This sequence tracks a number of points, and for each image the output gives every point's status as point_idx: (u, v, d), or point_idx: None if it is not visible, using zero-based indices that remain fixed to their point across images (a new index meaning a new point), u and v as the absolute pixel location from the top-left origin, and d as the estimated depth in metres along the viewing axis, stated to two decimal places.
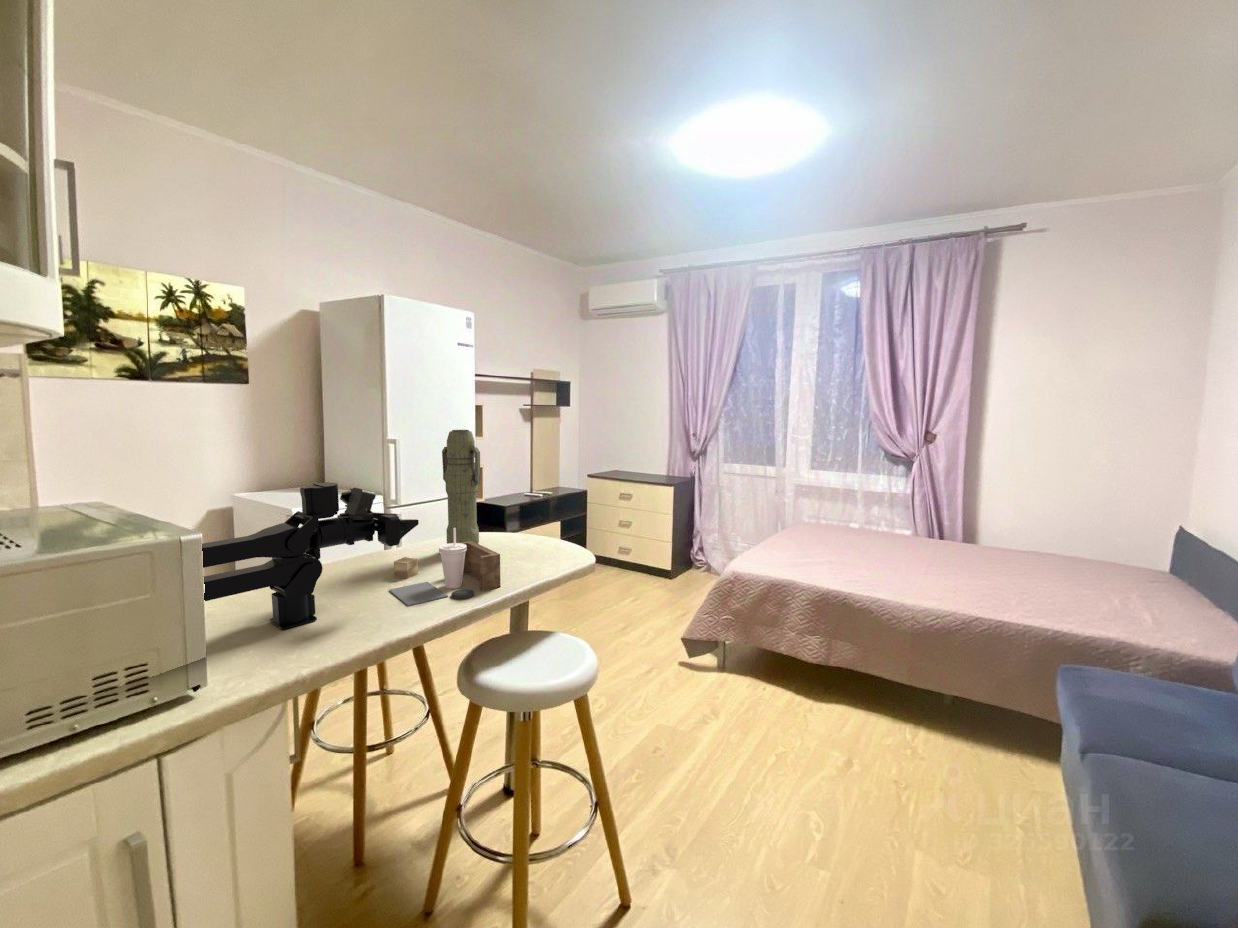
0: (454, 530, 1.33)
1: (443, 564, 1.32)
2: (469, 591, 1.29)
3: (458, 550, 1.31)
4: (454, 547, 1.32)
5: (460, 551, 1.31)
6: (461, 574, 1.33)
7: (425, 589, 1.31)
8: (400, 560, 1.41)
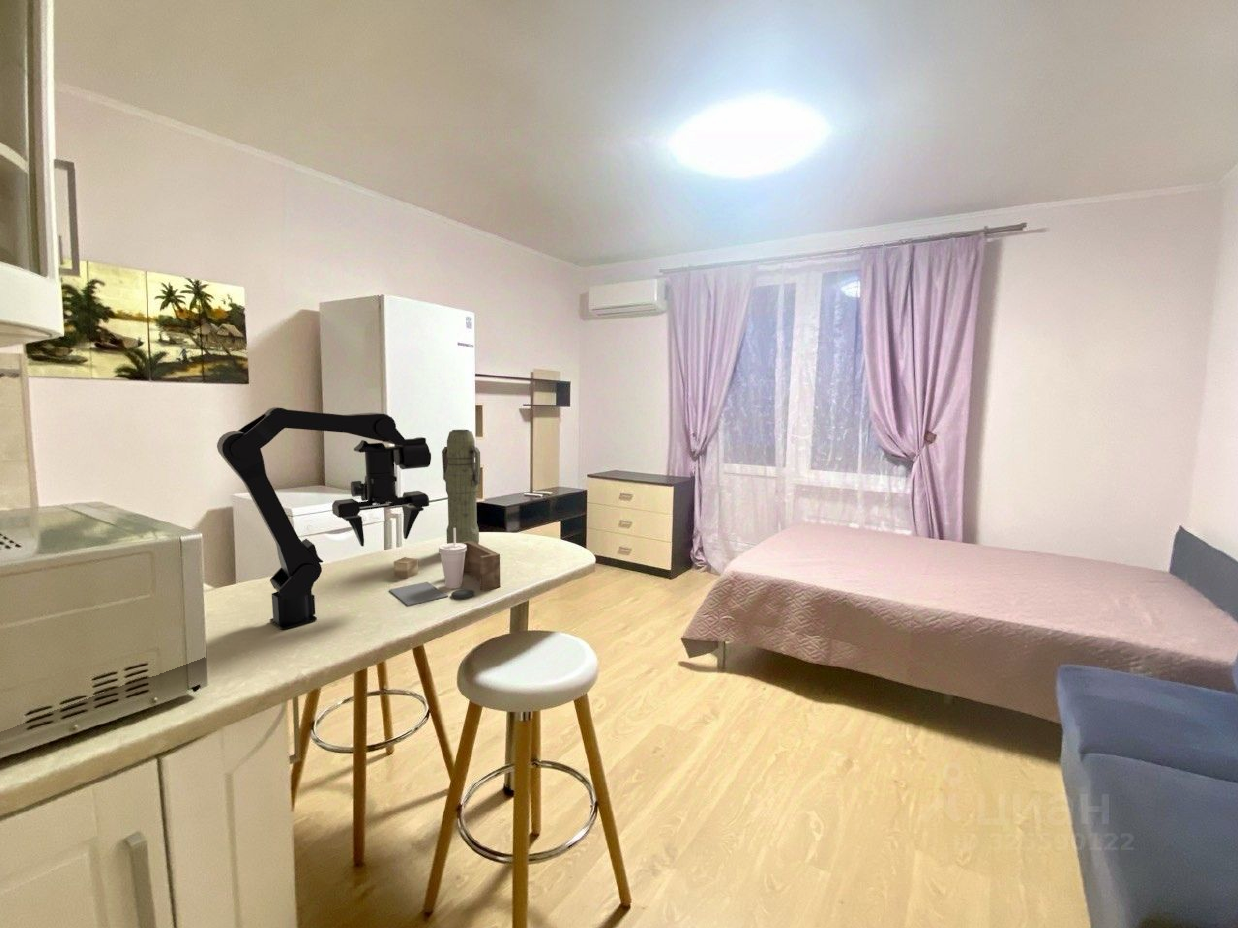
0: (454, 530, 1.33)
1: (443, 564, 1.32)
2: (469, 591, 1.29)
3: (458, 550, 1.31)
4: (454, 547, 1.32)
5: (460, 551, 1.31)
6: (461, 574, 1.33)
7: (425, 589, 1.31)
8: (400, 560, 1.41)
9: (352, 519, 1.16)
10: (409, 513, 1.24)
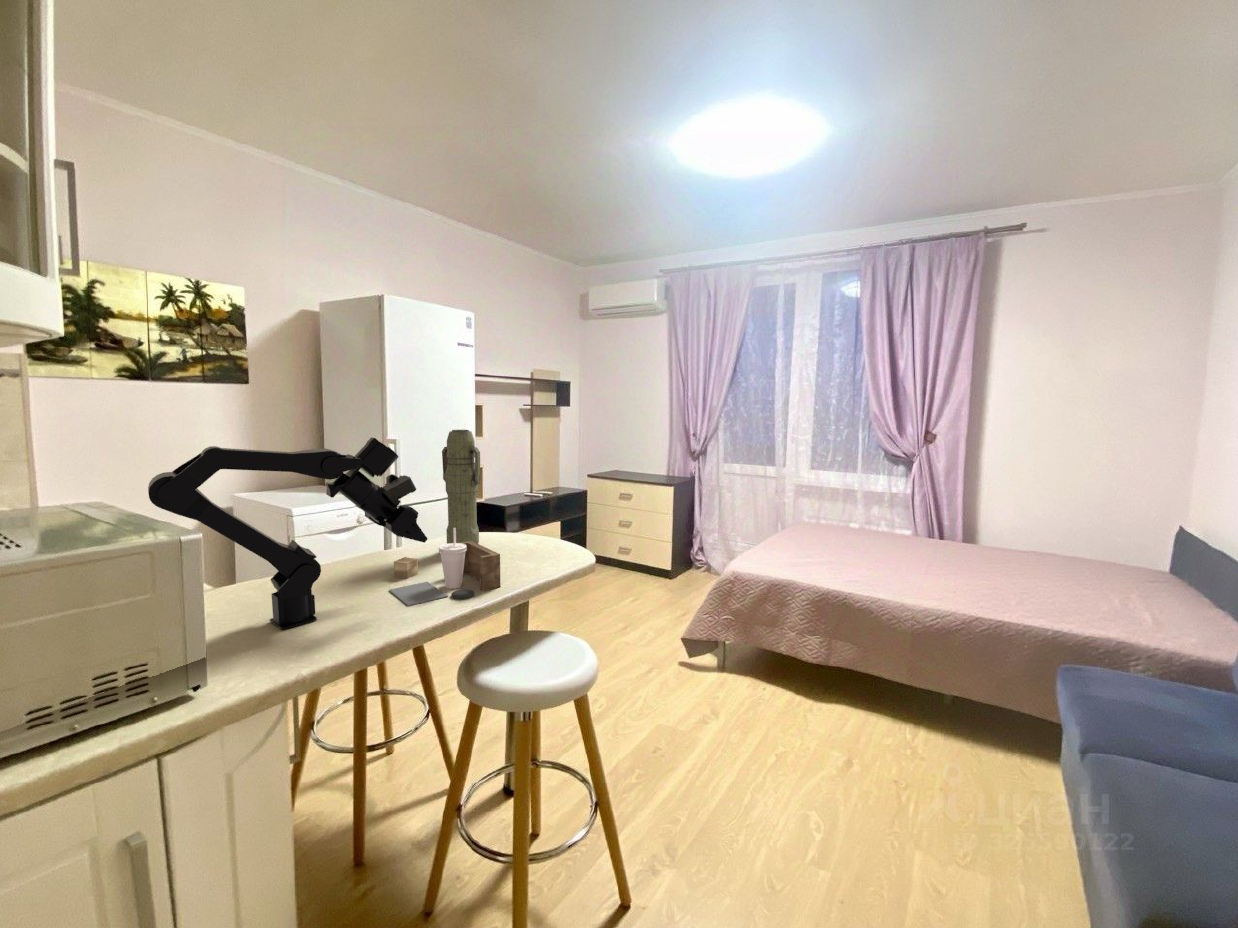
0: (454, 530, 1.33)
1: (443, 564, 1.32)
2: (469, 591, 1.29)
3: (458, 550, 1.31)
4: (454, 547, 1.32)
5: (460, 551, 1.31)
6: (461, 574, 1.33)
7: (425, 589, 1.31)
8: (400, 560, 1.41)
9: (376, 523, 1.28)
10: None
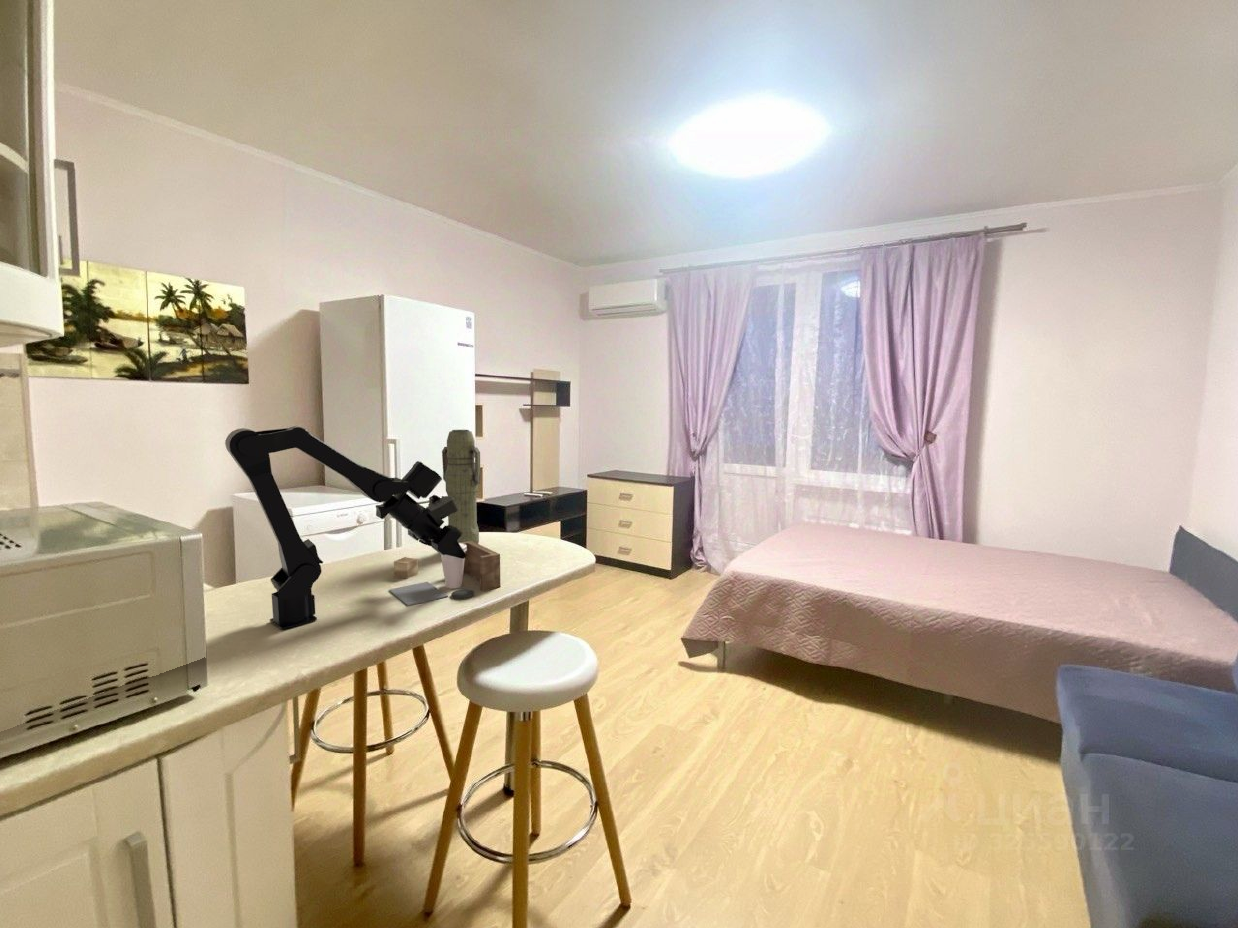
0: None
1: (443, 564, 1.32)
2: (469, 591, 1.29)
3: None
4: None
5: None
6: (461, 574, 1.33)
7: (425, 589, 1.31)
8: (400, 560, 1.41)
9: None
10: None
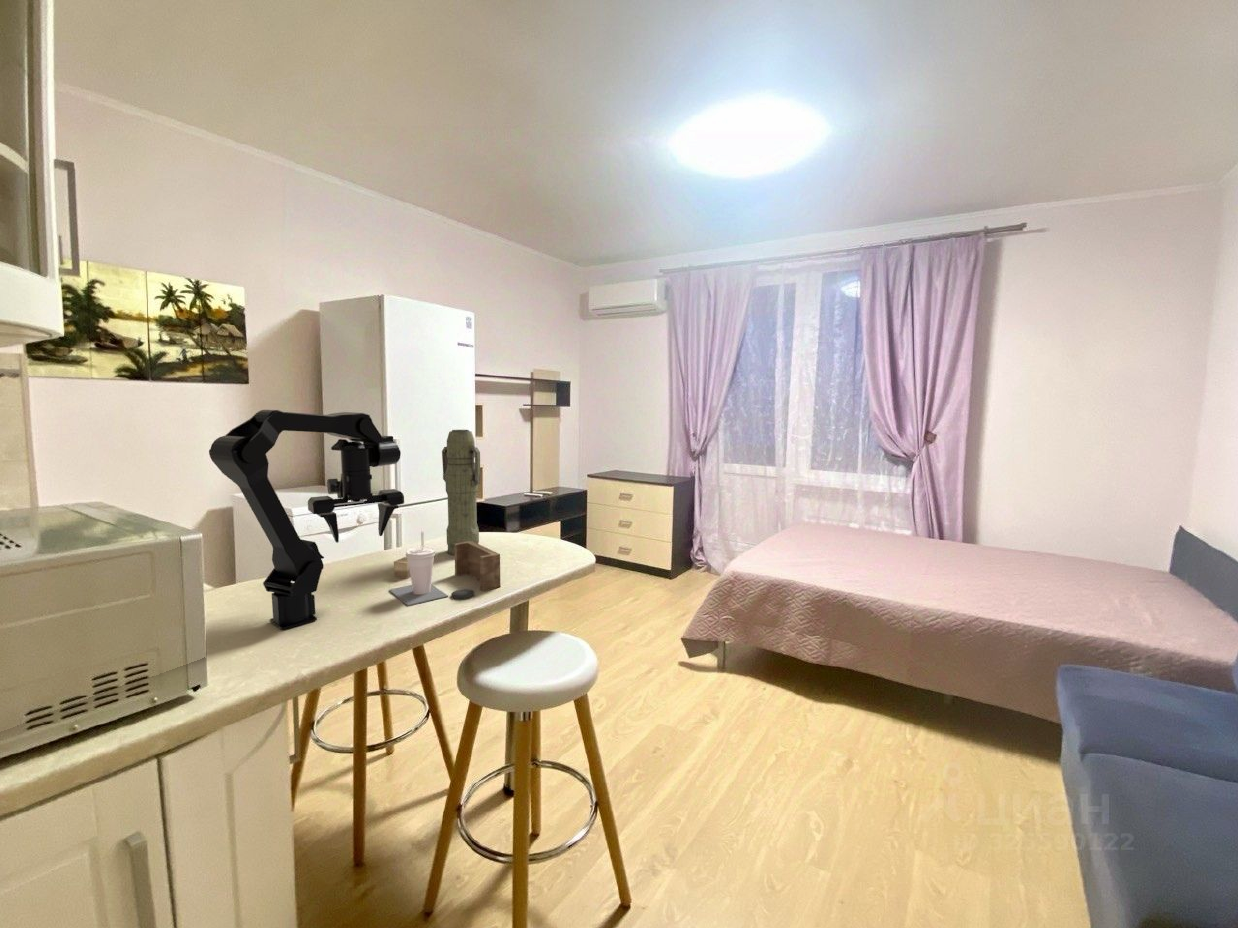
0: (422, 534, 1.28)
1: (410, 569, 1.27)
2: (469, 591, 1.29)
3: (425, 555, 1.26)
4: (422, 551, 1.27)
5: (428, 556, 1.26)
6: (429, 579, 1.28)
7: None
8: (400, 560, 1.41)
9: (327, 515, 1.18)
10: (384, 511, 1.27)
